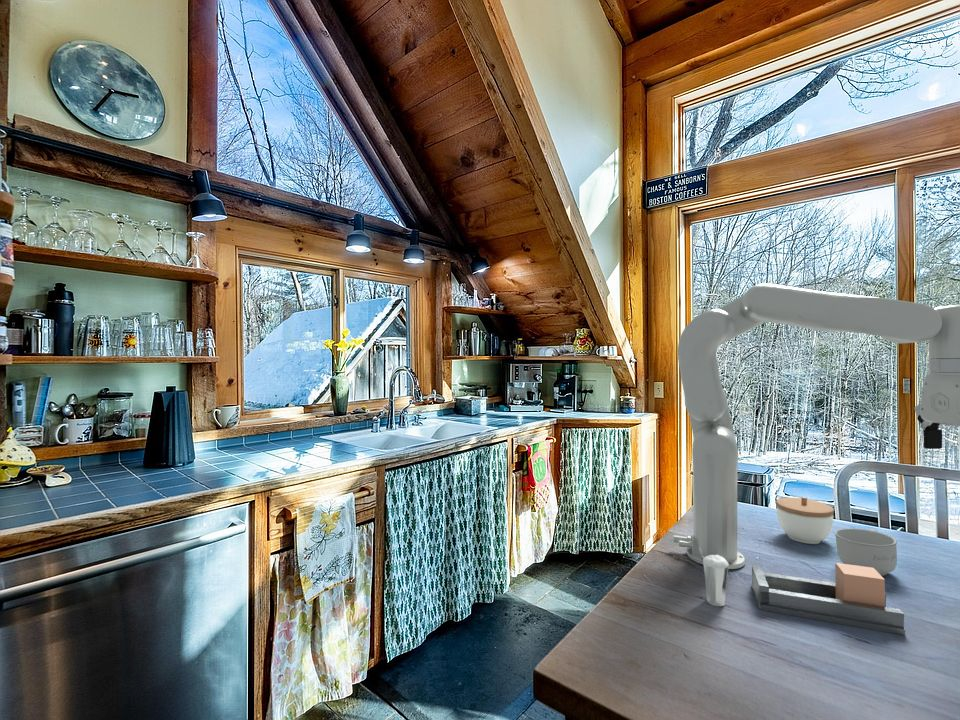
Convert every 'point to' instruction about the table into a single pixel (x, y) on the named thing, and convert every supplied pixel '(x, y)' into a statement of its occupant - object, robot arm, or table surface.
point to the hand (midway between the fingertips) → (954, 453)
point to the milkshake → (715, 578)
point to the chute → (820, 602)
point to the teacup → (867, 549)
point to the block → (859, 584)
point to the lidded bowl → (805, 519)
